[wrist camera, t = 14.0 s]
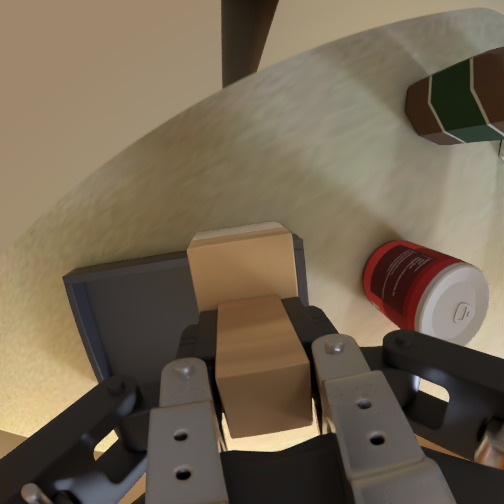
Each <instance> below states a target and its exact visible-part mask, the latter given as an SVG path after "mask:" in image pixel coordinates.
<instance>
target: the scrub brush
mask: <svg viewBox="0 0 504 504" xmlns="http://www.w3.org/2000/svg"><path fill="white" fill-rule="evenodd" d="M187 255H188V260H189V266H190V271H191V276H192V281H193V286H194V291H195V295H196V300H197V305H198V310H199V314H200V311H207V310H214V309H218V321H217V350H216V360H215V380H216V384H217V388H218V392H219V396H220V399H221V403H222V407H223V411H224V414H225V418H226V421H227V425H228V429H229V432H230V436H231V438H233V439H234V438H242V437H249V436H256V435H263V434H269V433H275V432H280V431H286V430H291V429H296V428H301V427H305V426H310V425H312V424H313V413H312V391H311V372H310V361H309V359H308V357H307V355H306V353H305V350H304V348H303V346H302V344H301V342H300V341H299V338H298V336H297V334H296V332H295V330H294V328H293V325H292V323H291V321H290V319H289V317H288V315H287V313H286V310H285V308H284V306H283V304H282V302H281V299H284V298H290V297H296V296H298V287H297V277H296V267H295V258H294V248H293V240H292V233H291V232H290V231H289V230H287V229H286V228H285V227H283V226H282V225H281V224H280V223H278V222H277V221H270V222H264V223H257V224H250V225H243V226H237V227H230V228H224V229H218V230H211V231H205V232H199V233H195V235H194V237H193V238H192V240H191V242H190V244H189V246H188V247H187Z"/></svg>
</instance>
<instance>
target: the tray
mask: <svg viewBox="0 0 504 504" xmlns="http://www.w3.org/2000/svg"><path fill="white" fill-rule="evenodd" d="M292 240H293V248H294V258H295V267H296V277H297V287H298V297H299V299H300V300H301V302H302V303H303V305H304V307H307V306H309V302H308V291H307V280H306V269H305V259H304V249H303V240H302V239H301V238H300V237H298V236H297V235H295V234H292ZM62 278H63V281H64V285H65V288H66V292H67V296H68V299H69V302H70V306H71V309H72V312H73V315H74V319H75V322H76V325H77V328H78V331H79V333H80V336H81V339H82V342H83V345H84V347H85V350H86V353H87V355H88V358H89V361H90V363H91V366H92V368H93V371H94V373H95V376H96V378H97V380H98V383H100V382H102V381H103V380H105V379H107V378H109V377H112V376H115V375H130V376H133V377H134V378H135V379H136V380H137V383H138V385H139V386H141V385H145V384H148V383H152V382H155V381H158V380H160V379H161V373H162V370H163V368H164V367H165V366H166V365H167V364H169V363H170V362H172V361H175V358H176V354H177V350H178V346H179V342H180V340H181V335H182V331H183V330H184V329H185V328H186V327H187V326H188V325H193V324H198V322H199V316H200V314H199V310H198V305H197V300H196V295H195V291H194V286H193V281H192V276H191V271H190V266H189V260H188V255H187V250H186V251H180V252H173V253H167V254H161V255H155V256H149V257H142V258H136V259H130V260H124V261H118V262H112V263H106V264H100V265H94V266H88V267H82V268H76V269H74V270H73V271H71V272H69V273H68V274H66V275H65V276H63V277H62Z"/></svg>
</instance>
